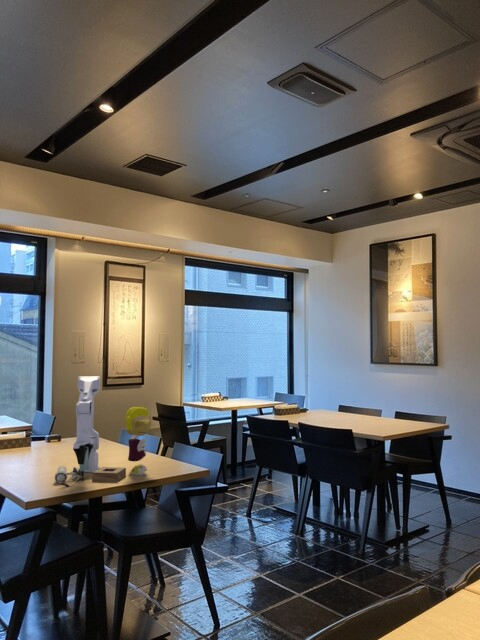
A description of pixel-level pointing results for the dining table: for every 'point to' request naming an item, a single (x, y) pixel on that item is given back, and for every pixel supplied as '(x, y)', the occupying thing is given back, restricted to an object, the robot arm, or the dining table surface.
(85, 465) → the teal peg
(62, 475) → the clip-on lamp
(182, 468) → the dining table surface
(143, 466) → the toy
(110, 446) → the dining table surface
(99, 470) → the socket block
